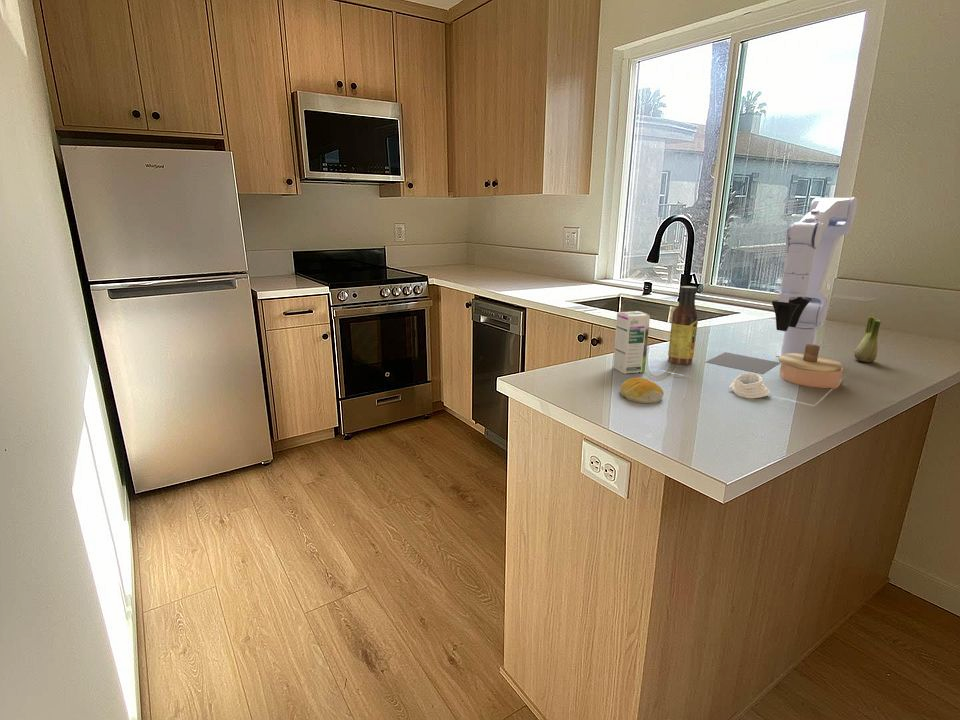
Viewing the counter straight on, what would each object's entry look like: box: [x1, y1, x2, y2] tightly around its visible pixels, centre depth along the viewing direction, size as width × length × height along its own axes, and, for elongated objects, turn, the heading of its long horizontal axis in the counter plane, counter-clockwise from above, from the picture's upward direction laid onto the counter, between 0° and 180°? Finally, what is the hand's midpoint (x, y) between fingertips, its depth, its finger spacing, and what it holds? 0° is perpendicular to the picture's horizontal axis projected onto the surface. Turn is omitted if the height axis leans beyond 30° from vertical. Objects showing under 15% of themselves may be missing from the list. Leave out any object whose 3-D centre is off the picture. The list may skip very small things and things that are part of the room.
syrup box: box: [612, 310, 651, 375], centre depth 128 cm, size 6×6×14 cm
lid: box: [778, 344, 843, 372], centre depth 123 cm, size 13×13×4 cm
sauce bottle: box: [667, 285, 699, 366], centre depth 134 cm, size 6×6×20 cm
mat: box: [705, 352, 781, 375], centre depth 137 cm, size 14×14×1 cm
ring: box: [779, 362, 844, 390], centre depth 123 cm, size 12×12×4 cm
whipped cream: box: [728, 372, 771, 399], centre depth 114 cm, size 8×7×5 cm
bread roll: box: [620, 376, 665, 404], centre depth 112 cm, size 8×9×4 cm
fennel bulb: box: [853, 316, 882, 363], centre depth 139 cm, size 6×5×12 cm
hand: (786, 328), depth 130 cm, fingers open, 7 cm apart
